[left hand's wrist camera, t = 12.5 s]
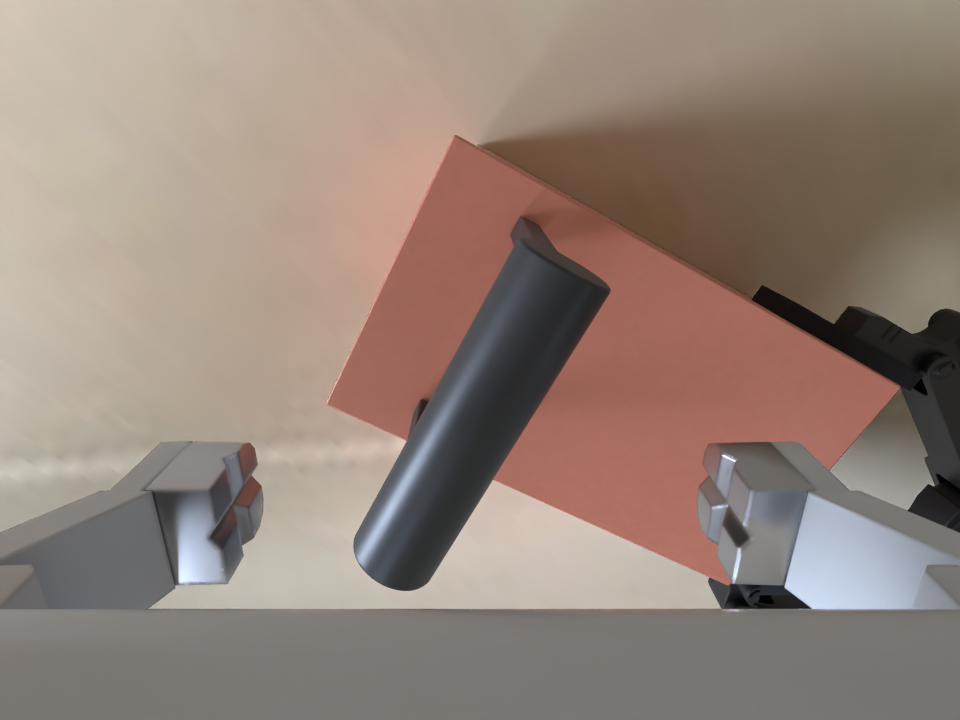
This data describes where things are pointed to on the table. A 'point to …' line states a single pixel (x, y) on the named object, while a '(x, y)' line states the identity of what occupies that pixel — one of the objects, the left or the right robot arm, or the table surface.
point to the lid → (569, 374)
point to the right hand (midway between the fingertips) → (695, 405)
